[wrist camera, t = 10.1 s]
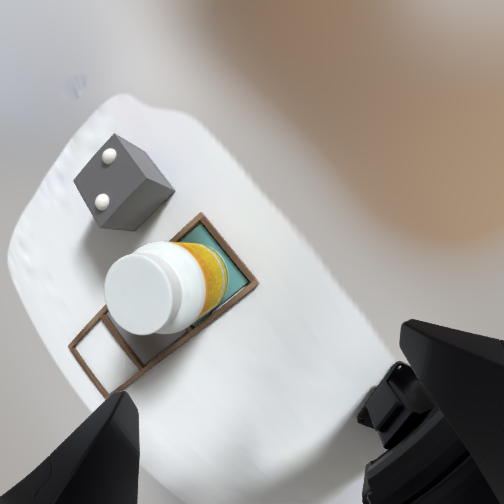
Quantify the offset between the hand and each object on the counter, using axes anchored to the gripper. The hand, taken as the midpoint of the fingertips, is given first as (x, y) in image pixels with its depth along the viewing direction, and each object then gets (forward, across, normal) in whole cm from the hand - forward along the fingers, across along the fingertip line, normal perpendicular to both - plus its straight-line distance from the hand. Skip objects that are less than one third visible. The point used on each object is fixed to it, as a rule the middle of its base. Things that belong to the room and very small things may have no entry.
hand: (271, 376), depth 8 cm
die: (+18, +7, -6) cm, 21 cm away
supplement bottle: (+15, +3, +2) cm, 16 cm away
